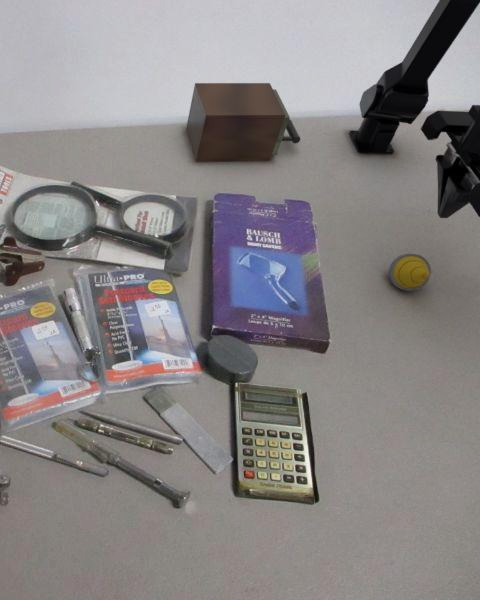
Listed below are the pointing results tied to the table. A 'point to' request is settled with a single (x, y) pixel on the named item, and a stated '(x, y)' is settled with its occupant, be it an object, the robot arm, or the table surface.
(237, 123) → the cabinet
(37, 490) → the table surface
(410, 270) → the yellow tiered knob
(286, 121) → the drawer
